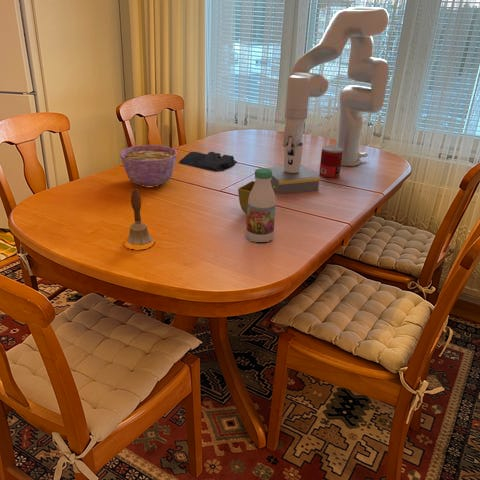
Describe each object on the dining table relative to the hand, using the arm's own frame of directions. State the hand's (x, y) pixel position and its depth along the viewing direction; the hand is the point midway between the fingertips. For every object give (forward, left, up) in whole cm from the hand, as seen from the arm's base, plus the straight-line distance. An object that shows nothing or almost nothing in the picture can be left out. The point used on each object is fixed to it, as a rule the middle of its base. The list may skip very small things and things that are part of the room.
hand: (291, 164), depth 166 cm
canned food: (-20, -6, -8) cm, 22 cm away
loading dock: (0, 0, -8) cm, 8 cm away
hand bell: (+60, +31, -8) cm, 68 cm away
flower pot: (+22, +21, -8) cm, 32 cm away
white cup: (0, 0, -2) cm, 3 cm away
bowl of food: (+49, -15, -8) cm, 52 cm away
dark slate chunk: (+22, -33, -9) cm, 41 cm away
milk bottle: (+27, +37, -8) cm, 47 cm away
